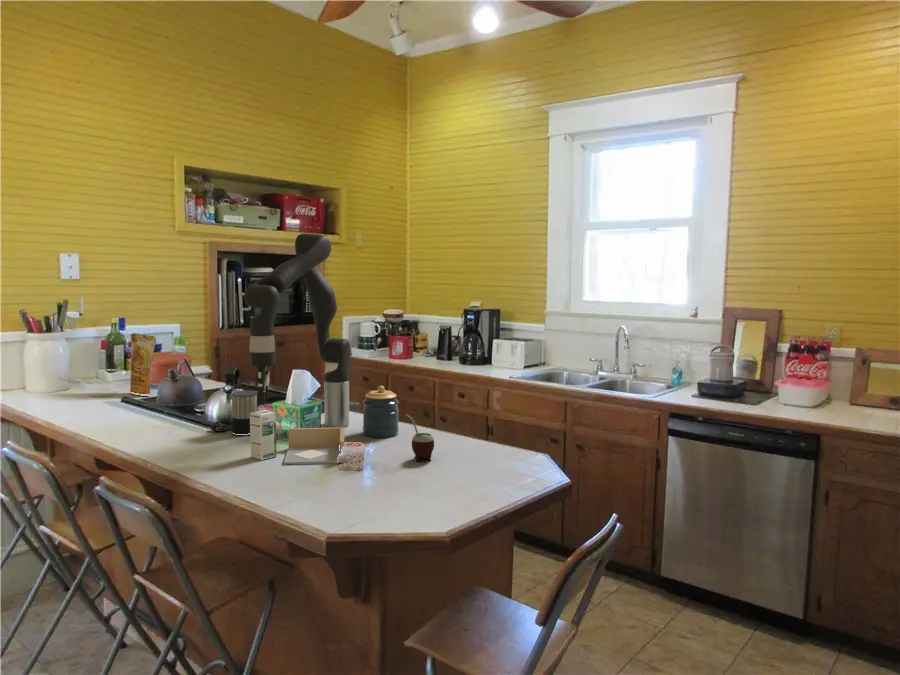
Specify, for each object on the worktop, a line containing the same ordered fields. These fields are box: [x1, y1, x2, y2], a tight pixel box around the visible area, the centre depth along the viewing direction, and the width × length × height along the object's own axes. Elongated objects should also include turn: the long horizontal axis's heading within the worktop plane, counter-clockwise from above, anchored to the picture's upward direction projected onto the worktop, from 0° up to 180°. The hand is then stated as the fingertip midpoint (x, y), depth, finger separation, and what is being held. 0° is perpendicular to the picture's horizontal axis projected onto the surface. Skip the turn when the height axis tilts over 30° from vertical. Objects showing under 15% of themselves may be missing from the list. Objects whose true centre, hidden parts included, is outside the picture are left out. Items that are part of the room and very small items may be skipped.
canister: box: [362, 385, 400, 438], centre depth 233 cm, size 13×13×18 cm
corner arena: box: [283, 427, 345, 466], centre depth 204 cm, size 18×18×7 cm
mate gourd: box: [405, 413, 435, 463], centre depth 201 cm, size 8×8×15 cm
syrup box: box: [249, 409, 278, 461], centre depth 201 cm, size 6×6×14 cm
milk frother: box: [211, 390, 258, 434], centre depth 231 cm, size 14×16×15 cm
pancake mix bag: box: [129, 332, 157, 394], centre depth 296 cm, size 7×19×28 cm, turn 51°
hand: (262, 401), depth 200 cm, fingers open, 8 cm apart
